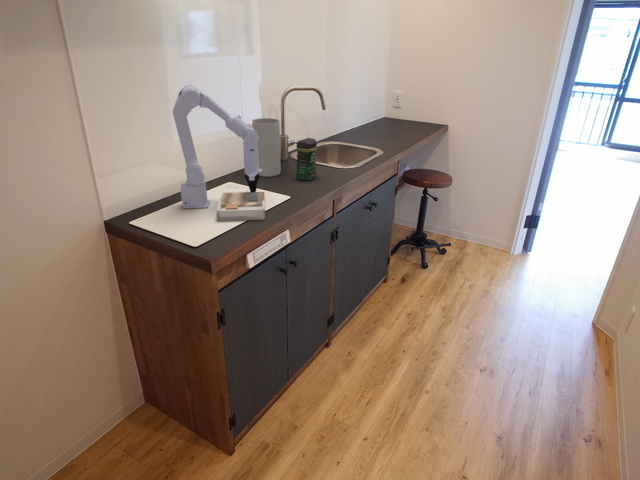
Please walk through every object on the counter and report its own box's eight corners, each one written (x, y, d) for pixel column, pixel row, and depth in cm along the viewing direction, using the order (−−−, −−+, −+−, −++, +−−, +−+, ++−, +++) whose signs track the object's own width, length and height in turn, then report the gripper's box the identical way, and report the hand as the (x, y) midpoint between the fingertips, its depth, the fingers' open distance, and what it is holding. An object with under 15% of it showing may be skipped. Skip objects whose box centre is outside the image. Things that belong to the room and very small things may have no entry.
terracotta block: (226, 214, 152) (225, 208, 151) (227, 210, 156) (226, 204, 155) (237, 214, 153) (237, 207, 152) (238, 209, 156) (237, 203, 155)
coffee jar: (308, 182, 192) (308, 142, 183) (293, 179, 195) (293, 139, 187) (318, 177, 199) (319, 138, 191) (305, 174, 203) (305, 135, 194)
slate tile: (247, 201, 162) (247, 195, 161) (247, 198, 165) (247, 192, 164) (258, 201, 162) (257, 195, 161) (258, 197, 166) (257, 191, 165)
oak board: (220, 211, 159) (219, 205, 158) (222, 198, 171) (222, 192, 170) (264, 210, 161) (264, 204, 160) (264, 197, 173) (264, 191, 172)
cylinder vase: (278, 168, 210) (276, 117, 199) (282, 176, 199) (281, 123, 188) (253, 170, 207) (250, 118, 196) (256, 178, 196) (253, 123, 185)
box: (218, 221, 151) (216, 211, 149) (220, 211, 159) (219, 201, 157) (265, 219, 153) (264, 209, 151) (264, 210, 161) (264, 200, 159)
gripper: (261, 164, 158) (263, 197, 164) (261, 154, 171) (262, 185, 177) (242, 164, 157) (245, 198, 163) (243, 154, 170) (246, 186, 176)
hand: (253, 191), depth 170 cm, fingers closed
